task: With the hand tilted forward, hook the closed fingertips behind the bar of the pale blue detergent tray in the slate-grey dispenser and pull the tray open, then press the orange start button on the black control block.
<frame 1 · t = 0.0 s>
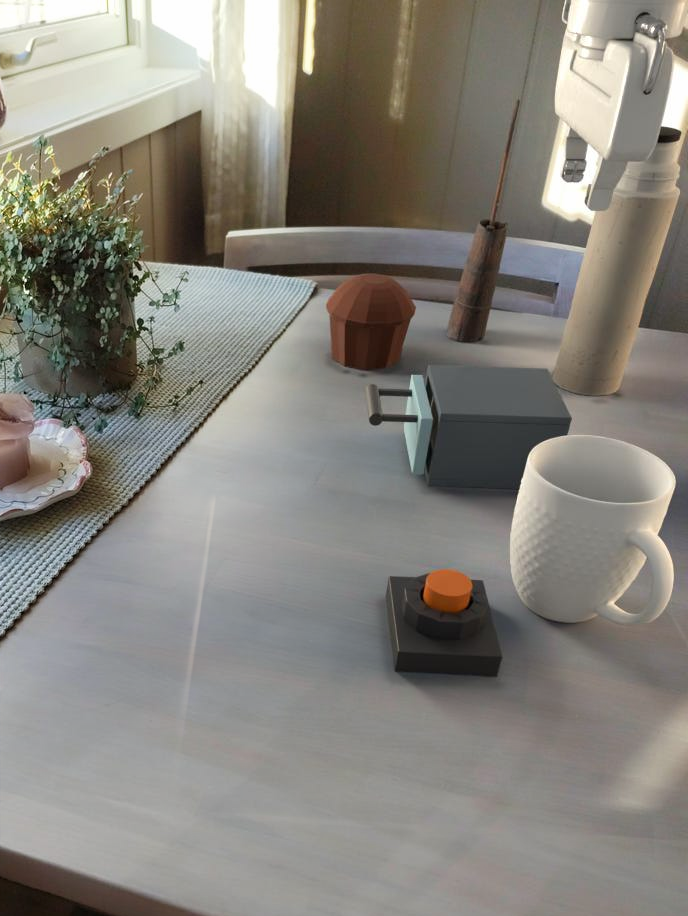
hand: (582, 194, 81), 26 cm above the table, tool pointing down, fingers open, 8 cm apart
thermos bottle: (585, 383, 112), on the table
dispenser: (481, 460, 97), on the table
mug: (566, 609, 77), on the table
butter churn: (465, 340, 123), on the table
muffin: (364, 357, 118), on the table
control block: (438, 634, 74), on the table
tray: (443, 424, 94), point 4 cm above the table, slide at 0.5 cm
start button: (447, 591, 72), point 5 cm above the table, slide at 0.2 cm
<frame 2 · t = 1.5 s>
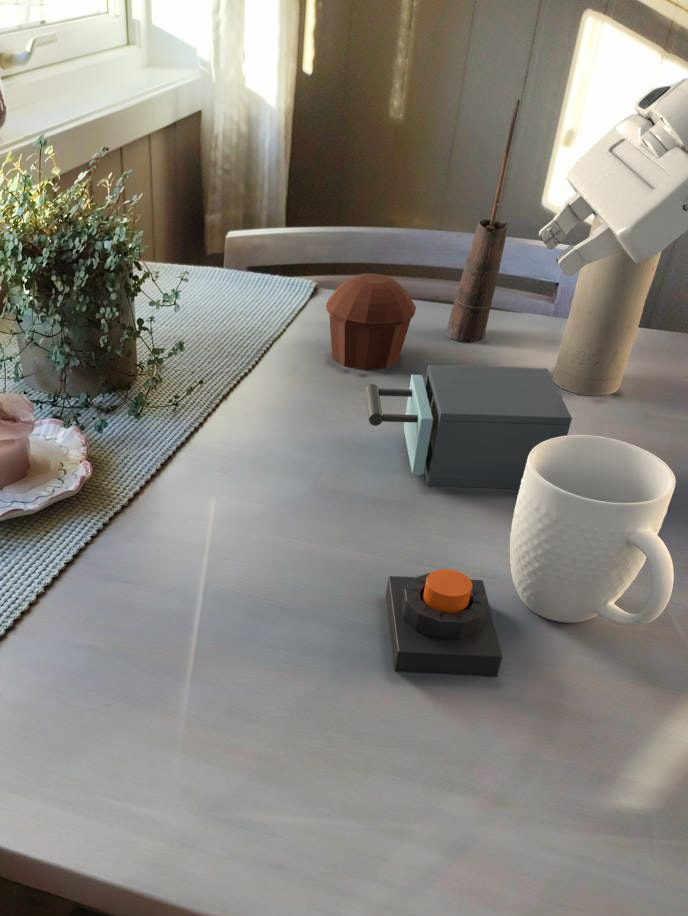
hand: (551, 254, 83), 21 cm above the table, tool tilted 45°, fingers open, 6 cm apart
nothing on the table moved.
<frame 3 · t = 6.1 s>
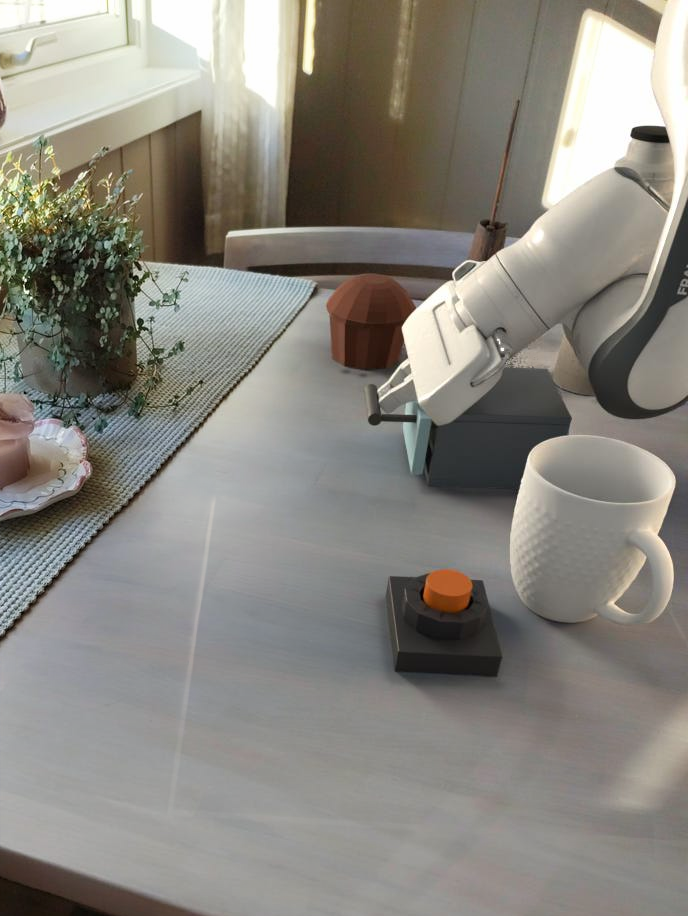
hand: (381, 403, 93), 6 cm above the table, tool tilted 45°, fingers closed, pressing on tray
tray: (442, 424, 94), point 4 cm above the table, slide at 0.6 cm, touching gripper
everything else where it was.
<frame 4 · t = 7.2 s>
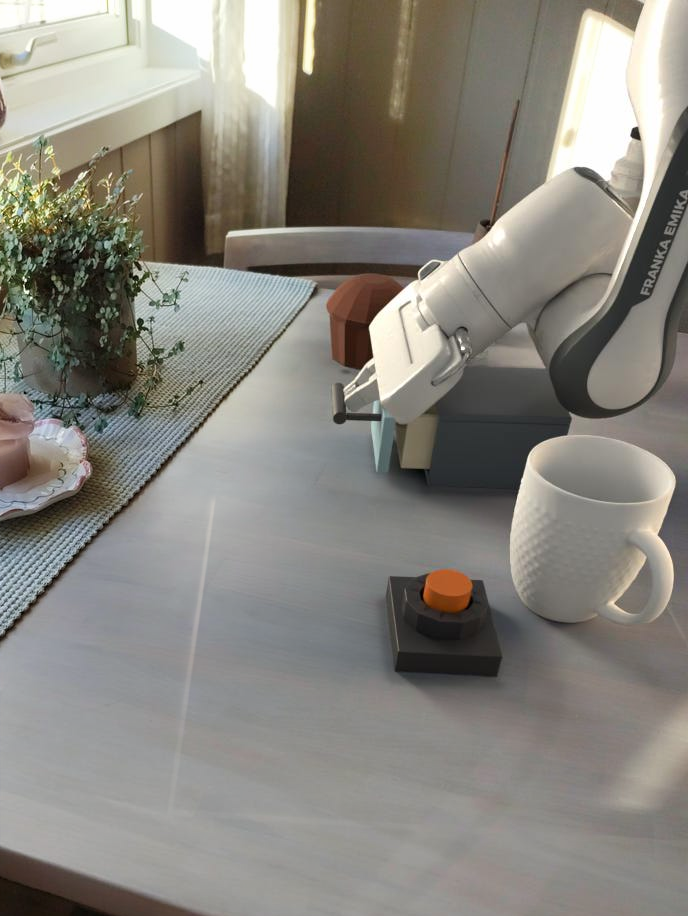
hand: (347, 402, 94), 6 cm above the table, tool tilted 45°, fingers closed, pressing on tray
tray: (408, 423, 95), point 4 cm above the table, slide at 4.1 cm, touching gripper
everything else where it was.
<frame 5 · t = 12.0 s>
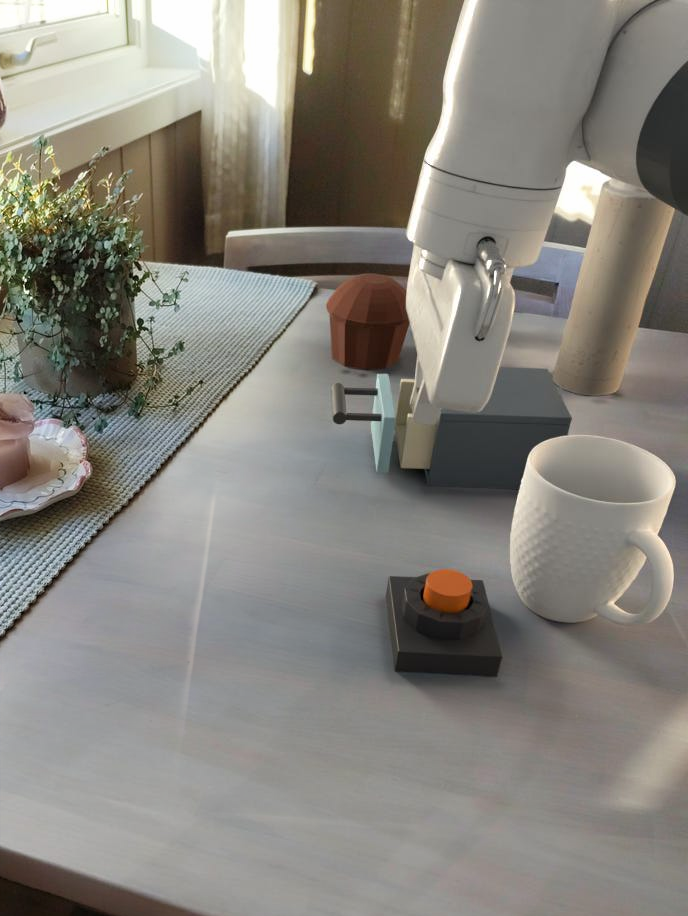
hand: (421, 416, 67), 17 cm above the table, tool pointing down, fingers closed
tray: (408, 423, 95), point 4 cm above the table, slide at 4.1 cm
everything else where it was.
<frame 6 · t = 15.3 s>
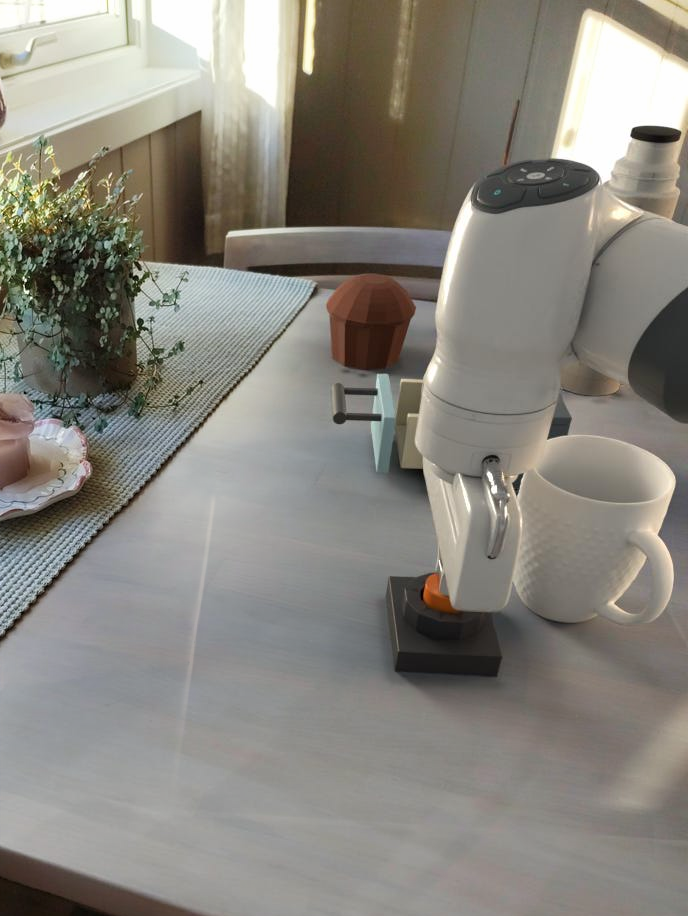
hand: (447, 585, 71), 5 cm above the table, tool pointing down, fingers closed, pressing on start button
start button: (446, 594, 72), point 4 cm above the table, slide at -0.1 cm, touching gripper
everything else where it was.
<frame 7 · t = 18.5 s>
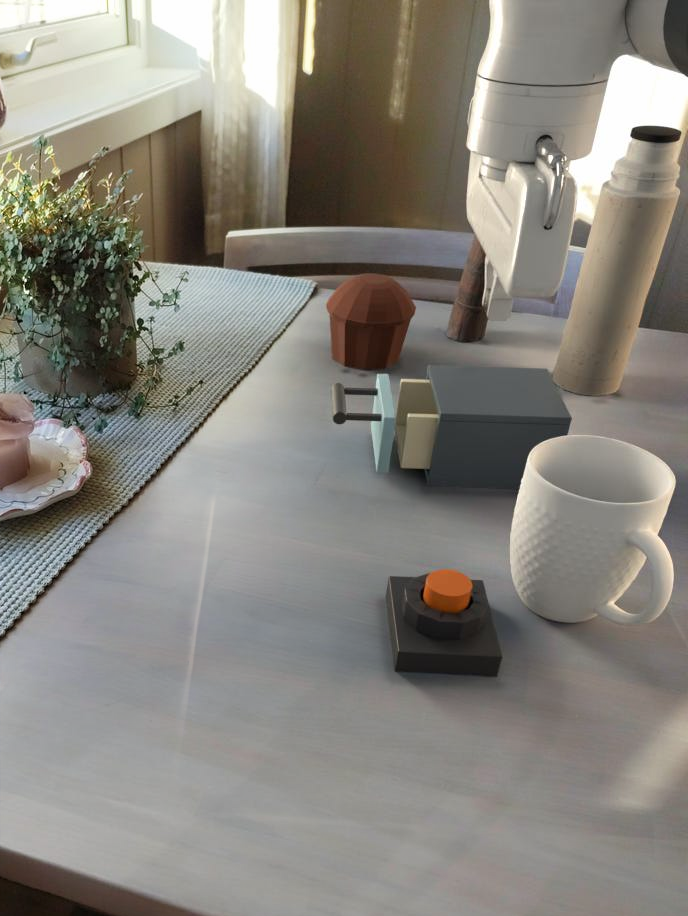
hand: (494, 314, 73), 21 cm above the table, tool pointing down, fingers closed
start button: (447, 591, 72), point 5 cm above the table, slide at 0.2 cm
everything else where it was.
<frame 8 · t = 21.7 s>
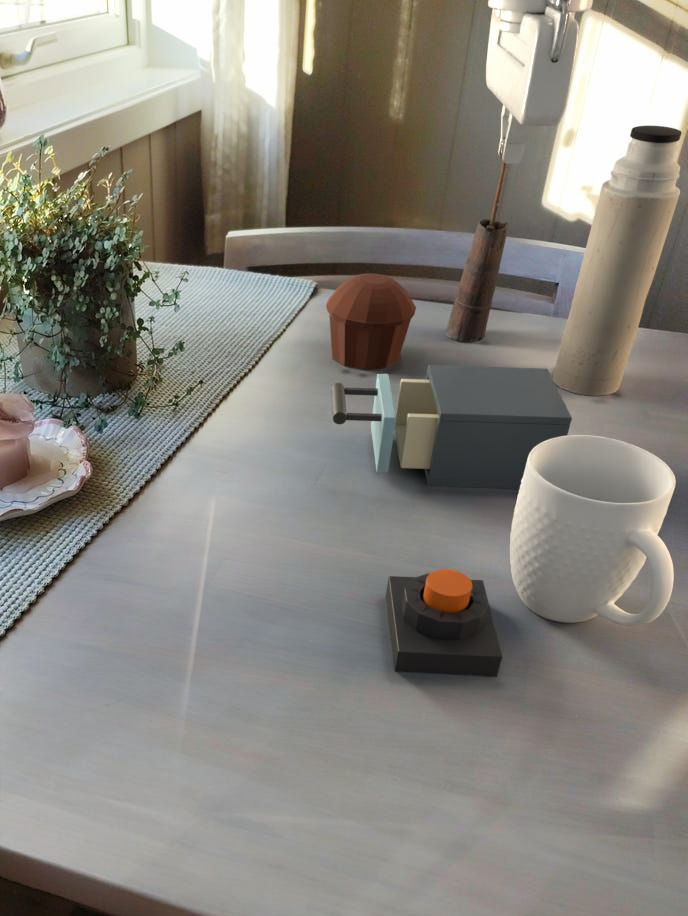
hand: (509, 160, 87), 27 cm above the table, tool pointing down, fingers closed
nothing on the table moved.
at the end: tray slide at 4.1 cm; start button pushed in 1.0 cm at the most during the clip, back to 0.2 cm at the end; start button slide at 0.2 cm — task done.
